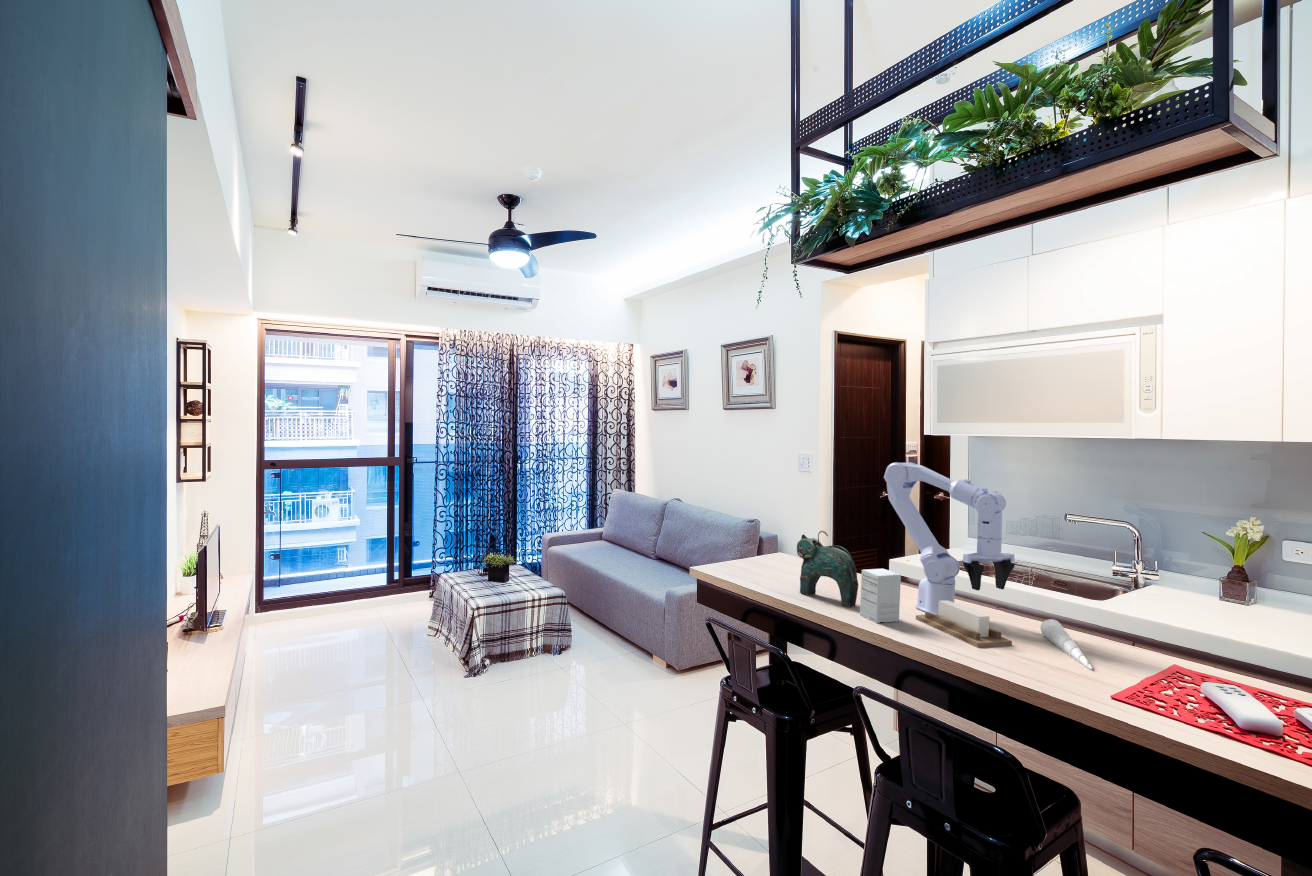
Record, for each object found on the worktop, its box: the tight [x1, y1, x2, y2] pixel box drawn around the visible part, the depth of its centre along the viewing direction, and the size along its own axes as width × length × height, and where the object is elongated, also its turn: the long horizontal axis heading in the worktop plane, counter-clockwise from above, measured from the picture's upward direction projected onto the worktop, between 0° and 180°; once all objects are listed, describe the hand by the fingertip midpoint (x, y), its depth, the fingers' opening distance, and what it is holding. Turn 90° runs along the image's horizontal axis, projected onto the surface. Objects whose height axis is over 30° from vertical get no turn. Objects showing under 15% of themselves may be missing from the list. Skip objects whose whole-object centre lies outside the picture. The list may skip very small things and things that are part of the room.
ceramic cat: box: [796, 530, 859, 608], centre depth 188 cm, size 20×6×20 cm, turn 37°
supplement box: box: [859, 568, 902, 624], centre depth 171 cm, size 7×7×13 cm
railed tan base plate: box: [915, 611, 1013, 648], centre depth 163 cm, size 22×10×2 cm, turn 16°
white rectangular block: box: [938, 600, 990, 637], centre depth 162 cm, size 14×3×5 cm, turn 16°
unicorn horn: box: [1040, 618, 1094, 671], centre depth 150 cm, size 5×24×5 cm, turn 164°
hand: (987, 588), depth 169 cm, fingers open, 7 cm apart
